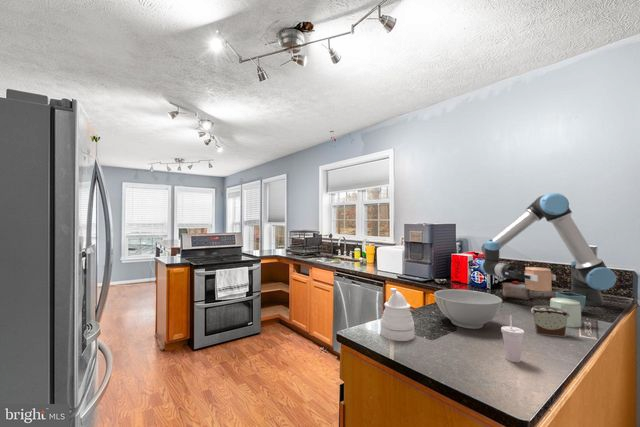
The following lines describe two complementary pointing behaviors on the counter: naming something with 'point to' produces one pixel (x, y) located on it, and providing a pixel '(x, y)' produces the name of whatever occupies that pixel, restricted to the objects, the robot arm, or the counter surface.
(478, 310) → the decorative bowl
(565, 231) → the robot arm
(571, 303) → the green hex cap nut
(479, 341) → the counter surface
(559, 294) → the flower pot
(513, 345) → the smoothie
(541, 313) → the food container
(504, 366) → the counter surface
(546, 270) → the octagonal lidded jar
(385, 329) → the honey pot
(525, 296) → the food item
